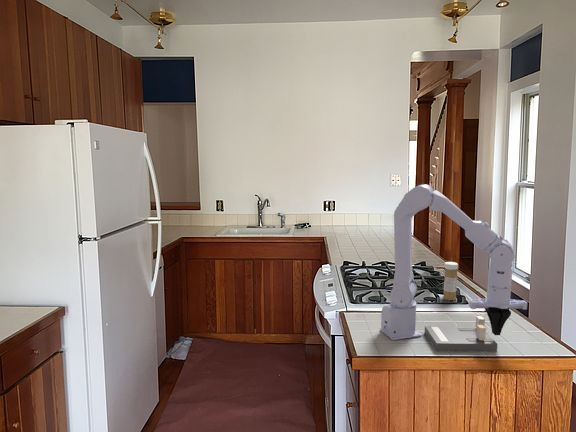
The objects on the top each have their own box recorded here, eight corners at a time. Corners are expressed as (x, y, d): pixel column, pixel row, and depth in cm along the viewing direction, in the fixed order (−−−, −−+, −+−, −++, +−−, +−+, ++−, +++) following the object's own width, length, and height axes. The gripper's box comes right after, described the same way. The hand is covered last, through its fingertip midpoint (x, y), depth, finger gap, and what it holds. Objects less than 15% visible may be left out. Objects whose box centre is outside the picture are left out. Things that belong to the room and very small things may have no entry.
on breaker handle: (478, 329, 126) (479, 319, 126) (475, 326, 129) (476, 316, 128) (484, 330, 126) (484, 319, 126) (480, 326, 129) (481, 316, 128)
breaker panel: (436, 351, 119) (436, 343, 119) (424, 332, 131) (424, 325, 131) (496, 351, 119) (497, 343, 118) (479, 333, 130) (479, 325, 130)
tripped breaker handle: (479, 340, 120) (480, 328, 119) (476, 336, 122) (476, 324, 122) (485, 340, 120) (485, 328, 119) (481, 336, 122) (482, 324, 121)
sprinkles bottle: (446, 296, 164) (447, 260, 162) (458, 298, 161) (460, 262, 159) (440, 299, 161) (442, 263, 159) (453, 302, 157) (455, 265, 156)
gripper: (477, 289, 115) (474, 339, 117) (534, 290, 114) (530, 340, 116) (467, 281, 122) (464, 328, 124) (521, 282, 121) (517, 329, 123)
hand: (495, 333), depth 120 cm, fingers closed
